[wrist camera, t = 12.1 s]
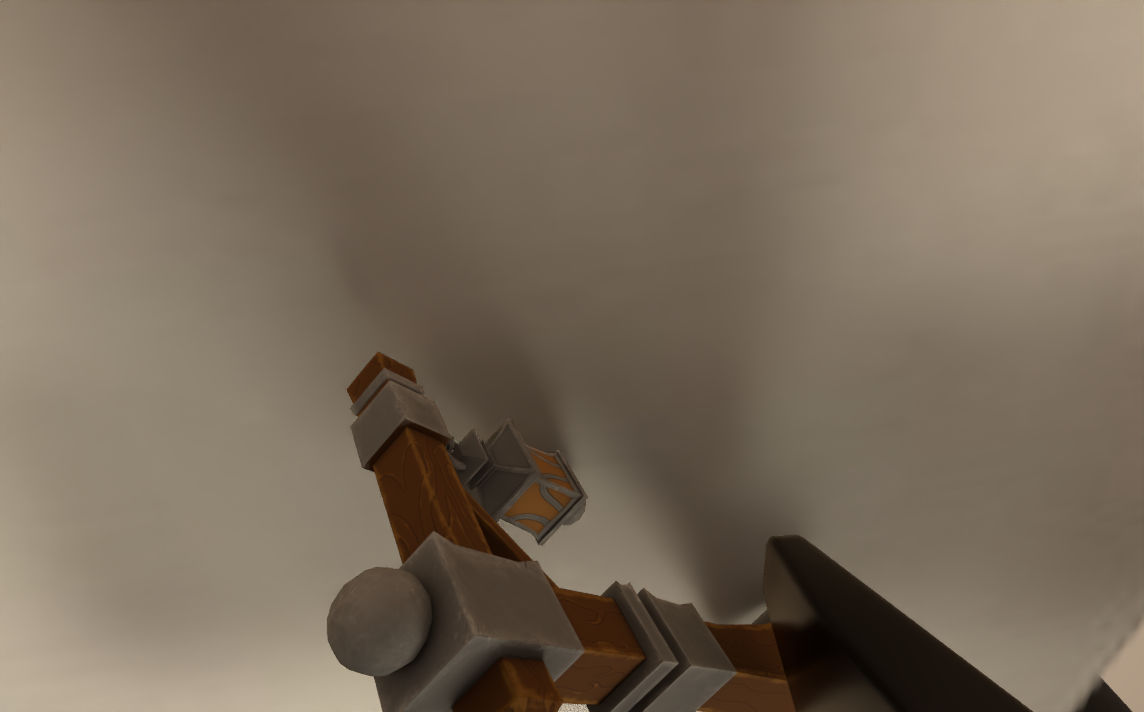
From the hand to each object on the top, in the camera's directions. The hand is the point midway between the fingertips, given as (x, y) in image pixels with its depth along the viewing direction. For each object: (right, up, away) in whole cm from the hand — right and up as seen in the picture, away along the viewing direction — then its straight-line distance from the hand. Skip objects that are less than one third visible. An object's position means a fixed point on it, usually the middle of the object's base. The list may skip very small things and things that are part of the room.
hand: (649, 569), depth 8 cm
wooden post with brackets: (-1, 0, +1) cm, 1 cm away
